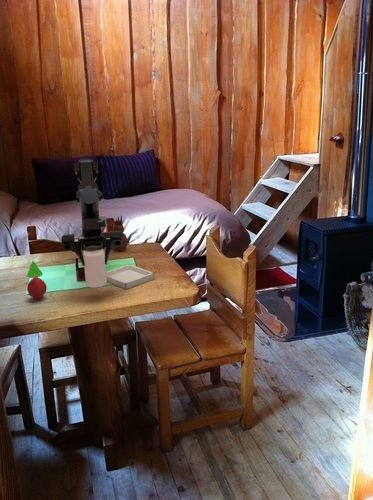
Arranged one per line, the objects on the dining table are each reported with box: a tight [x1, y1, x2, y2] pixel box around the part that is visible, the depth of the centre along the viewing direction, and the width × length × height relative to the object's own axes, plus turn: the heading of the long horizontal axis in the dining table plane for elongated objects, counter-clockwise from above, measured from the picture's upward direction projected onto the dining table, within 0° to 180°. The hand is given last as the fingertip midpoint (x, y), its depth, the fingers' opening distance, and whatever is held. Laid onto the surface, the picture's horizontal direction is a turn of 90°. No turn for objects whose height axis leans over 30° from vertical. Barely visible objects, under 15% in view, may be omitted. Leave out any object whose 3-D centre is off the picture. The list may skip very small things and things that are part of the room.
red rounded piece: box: [26, 275, 48, 300], centre depth 146 cm, size 6×6×8 cm
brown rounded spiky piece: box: [112, 215, 128, 252], centre depth 192 cm, size 7×6×15 cm
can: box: [82, 246, 108, 289], centre depth 143 cm, size 6×6×12 cm
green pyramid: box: [26, 260, 44, 279], centre depth 167 cm, size 6×6×6 cm
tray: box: [106, 263, 156, 291], centre depth 161 cm, size 14×13×2 cm
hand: (94, 264), depth 141 cm, fingers closed on can, 6 cm apart
